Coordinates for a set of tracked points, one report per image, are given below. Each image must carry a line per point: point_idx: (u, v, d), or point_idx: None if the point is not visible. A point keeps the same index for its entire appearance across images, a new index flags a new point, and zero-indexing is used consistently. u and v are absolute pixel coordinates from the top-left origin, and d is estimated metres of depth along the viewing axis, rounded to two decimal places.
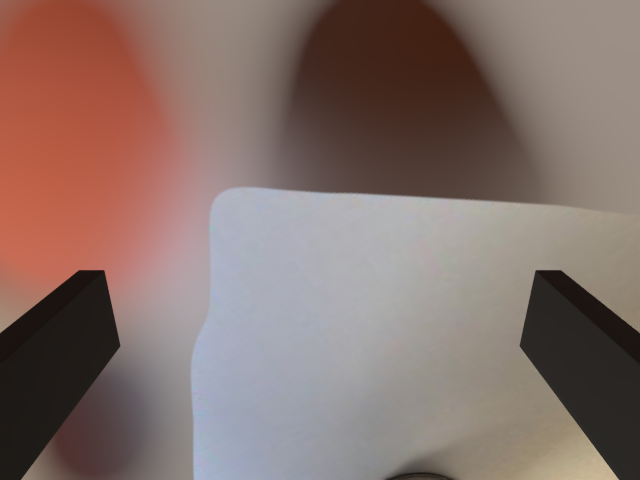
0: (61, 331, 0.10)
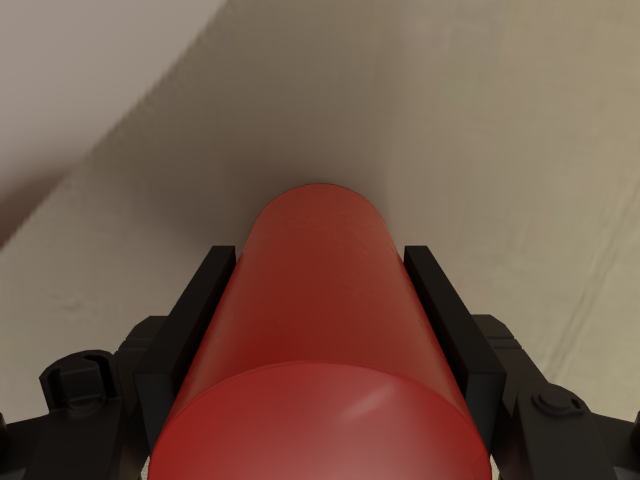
0: (220, 293, 0.12)
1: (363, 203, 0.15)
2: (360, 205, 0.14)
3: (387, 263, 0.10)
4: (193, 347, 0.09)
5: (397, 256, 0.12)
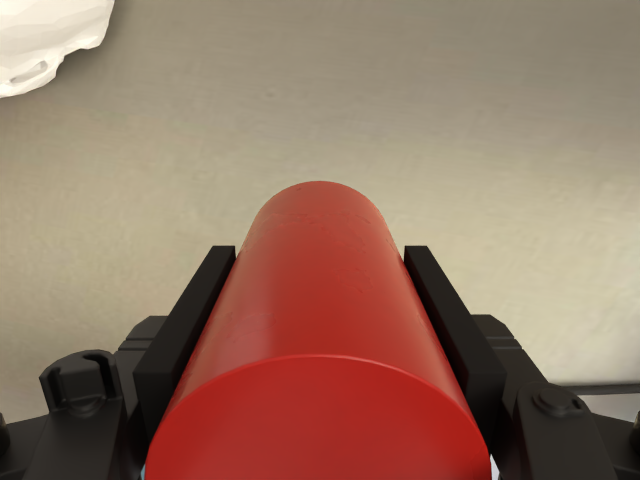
0: None
1: (362, 200, 0.15)
2: (359, 202, 0.14)
3: (386, 259, 0.10)
4: (192, 348, 0.09)
5: (396, 253, 0.12)
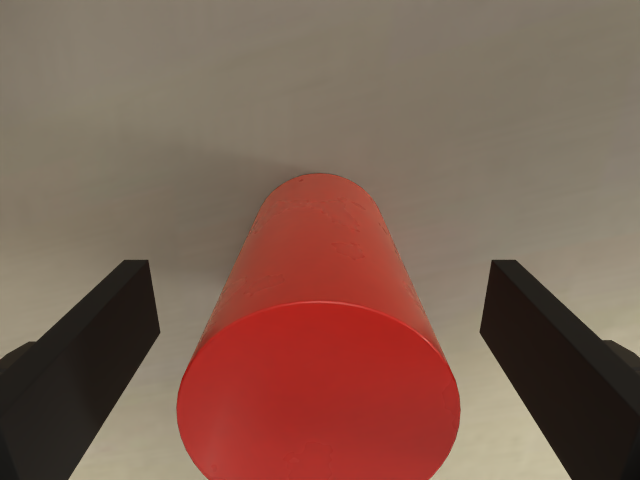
0: (116, 315, 0.11)
1: (358, 190, 0.16)
2: (356, 192, 0.16)
3: (377, 237, 0.12)
4: (52, 383, 0.08)
5: (388, 235, 0.14)
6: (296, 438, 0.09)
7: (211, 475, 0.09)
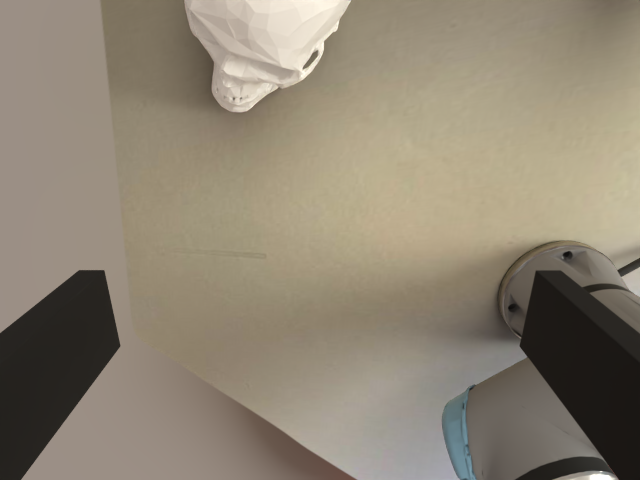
0: (61, 331, 0.10)
1: None
2: None
3: None
4: None
5: None
6: None
7: None
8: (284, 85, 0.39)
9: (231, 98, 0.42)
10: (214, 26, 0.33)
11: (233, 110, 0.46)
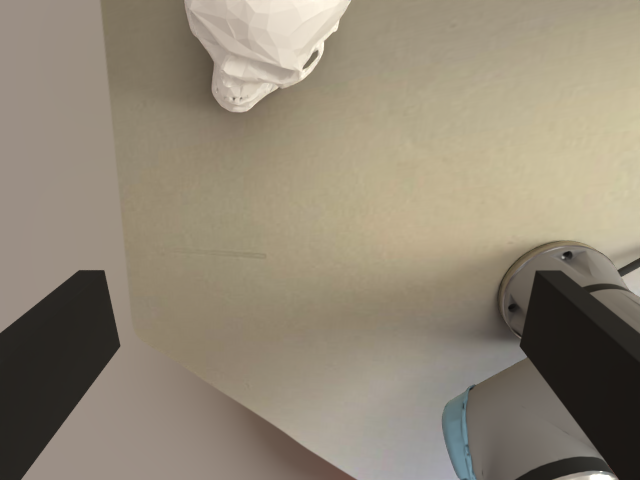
0: (61, 331, 0.10)
1: None
2: None
3: None
4: None
5: None
6: None
7: None
8: (284, 85, 0.39)
9: (231, 98, 0.42)
10: (214, 26, 0.33)
11: (233, 110, 0.46)
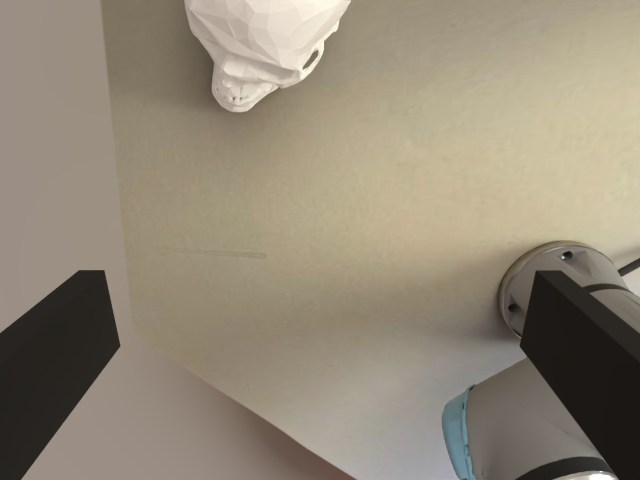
0: (61, 331, 0.10)
1: None
2: None
3: None
4: None
5: None
6: None
7: None
8: (284, 85, 0.39)
9: (231, 98, 0.42)
10: (214, 26, 0.33)
11: (233, 110, 0.46)
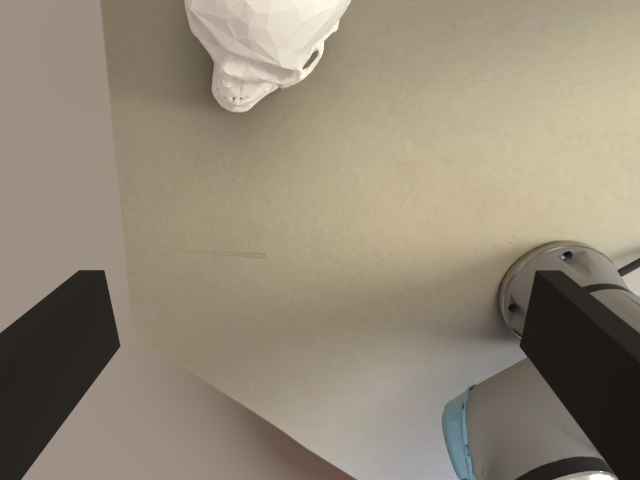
0: (61, 331, 0.10)
1: None
2: None
3: None
4: None
5: None
6: None
7: None
8: (284, 85, 0.39)
9: (231, 98, 0.42)
10: (214, 26, 0.33)
11: (233, 110, 0.46)
